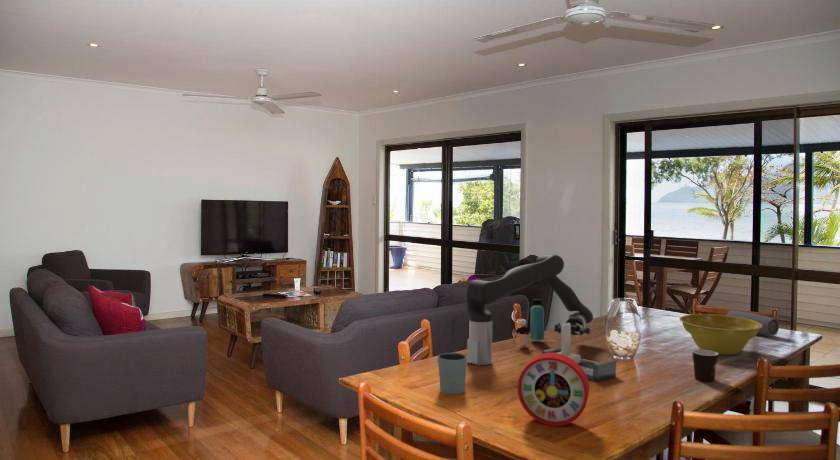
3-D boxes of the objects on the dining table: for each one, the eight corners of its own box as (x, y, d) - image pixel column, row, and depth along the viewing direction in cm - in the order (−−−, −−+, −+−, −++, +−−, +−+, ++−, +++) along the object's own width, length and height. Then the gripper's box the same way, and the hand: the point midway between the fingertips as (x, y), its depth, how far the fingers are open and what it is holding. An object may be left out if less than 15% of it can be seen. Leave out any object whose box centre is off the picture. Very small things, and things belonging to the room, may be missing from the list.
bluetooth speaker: (724, 329, 300) (724, 310, 300) (736, 327, 304) (737, 308, 303) (766, 339, 279) (767, 318, 279) (779, 337, 283) (779, 316, 283)
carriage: (567, 366, 225) (567, 327, 224) (550, 361, 231) (551, 324, 230) (580, 362, 229) (580, 324, 229) (563, 358, 236) (564, 321, 235)
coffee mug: (707, 384, 209) (708, 356, 209) (686, 377, 217) (687, 351, 216) (728, 379, 215) (729, 352, 214) (707, 373, 222) (707, 347, 222)
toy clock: (517, 421, 174) (517, 354, 173) (520, 414, 179) (521, 349, 178) (586, 430, 167) (588, 361, 166) (588, 423, 172) (589, 356, 171)
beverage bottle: (544, 343, 268) (544, 300, 267) (529, 343, 269) (530, 300, 268) (544, 340, 275) (544, 298, 274) (529, 339, 276) (530, 297, 275)
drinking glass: (457, 397, 195) (458, 361, 194) (431, 391, 200) (432, 357, 199) (471, 389, 203) (472, 354, 203) (446, 384, 209) (446, 350, 208)
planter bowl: (744, 366, 233) (745, 332, 232) (665, 350, 257) (666, 320, 257) (773, 352, 254) (774, 321, 254) (697, 339, 278) (698, 311, 278)
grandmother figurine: (527, 345, 265) (528, 317, 264) (532, 347, 261) (532, 319, 261) (512, 346, 262) (512, 318, 262) (516, 349, 259) (516, 320, 258)
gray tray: (597, 381, 212) (597, 365, 212) (542, 365, 233) (542, 350, 232) (615, 376, 218) (615, 360, 218) (560, 361, 239) (560, 346, 239)
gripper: (559, 314, 257) (552, 321, 242) (592, 317, 252) (588, 324, 237) (558, 331, 258) (552, 339, 243) (592, 334, 252) (587, 342, 237)
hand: (570, 331), depth 240 cm, fingers open, 8 cm apart
